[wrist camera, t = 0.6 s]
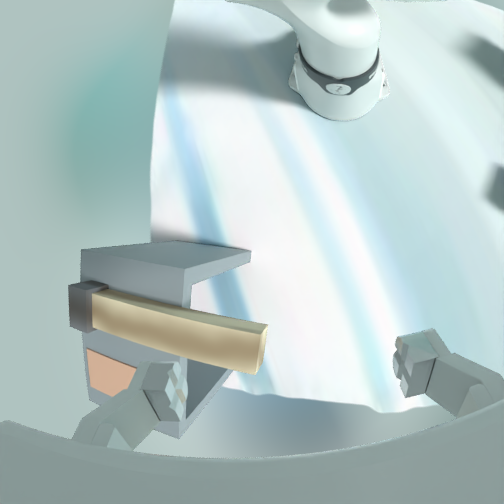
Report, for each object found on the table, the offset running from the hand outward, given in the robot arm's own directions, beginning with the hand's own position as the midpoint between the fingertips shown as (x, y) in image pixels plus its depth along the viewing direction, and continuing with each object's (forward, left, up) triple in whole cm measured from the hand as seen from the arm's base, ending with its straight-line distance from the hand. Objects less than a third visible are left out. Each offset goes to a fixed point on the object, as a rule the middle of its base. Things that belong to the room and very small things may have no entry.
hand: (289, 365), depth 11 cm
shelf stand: (+12, -20, -43) cm, 49 cm away
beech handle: (+7, -15, -17) cm, 24 cm away
